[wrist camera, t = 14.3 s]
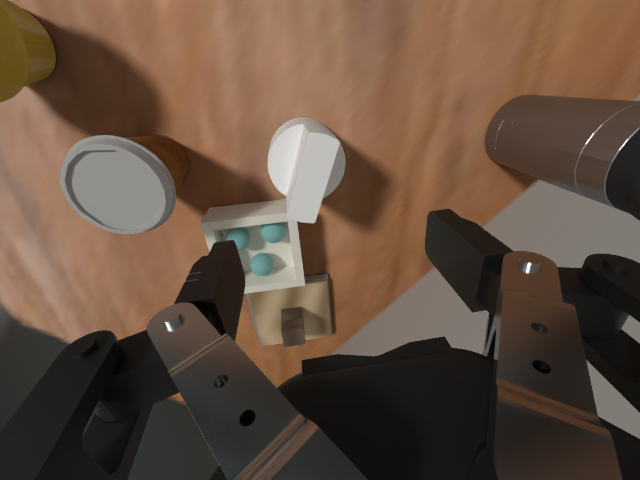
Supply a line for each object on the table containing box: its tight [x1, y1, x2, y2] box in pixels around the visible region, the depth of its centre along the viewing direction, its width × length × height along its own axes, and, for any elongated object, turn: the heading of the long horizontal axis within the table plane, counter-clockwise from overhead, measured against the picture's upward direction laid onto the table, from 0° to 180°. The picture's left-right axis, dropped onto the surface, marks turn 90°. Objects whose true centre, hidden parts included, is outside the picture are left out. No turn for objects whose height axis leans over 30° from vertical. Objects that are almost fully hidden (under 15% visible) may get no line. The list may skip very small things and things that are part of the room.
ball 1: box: [225, 227, 250, 251], centre depth 40 cm, size 3×3×3 cm
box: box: [200, 199, 305, 294], centre depth 41 cm, size 12×12×5 cm
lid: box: [248, 277, 331, 347], centre depth 48 cm, size 13×13×6 cm
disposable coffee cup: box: [60, 135, 189, 234], centre depth 31 cm, size 10×10×12 cm
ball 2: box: [250, 253, 273, 276], centre depth 42 cm, size 3×3×3 cm
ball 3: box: [261, 222, 285, 243], centre depth 40 cm, size 3×3×3 cm
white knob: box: [268, 117, 346, 223], centre depth 33 cm, size 9×9×12 cm
